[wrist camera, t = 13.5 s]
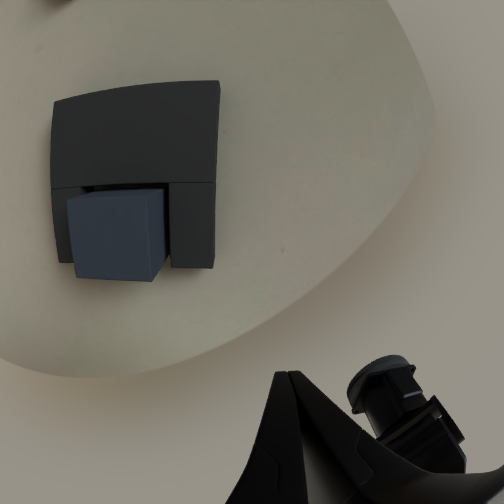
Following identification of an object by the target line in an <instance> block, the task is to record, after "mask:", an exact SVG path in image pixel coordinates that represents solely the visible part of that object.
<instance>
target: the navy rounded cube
mask: <svg viewBox="0 0 504 504" xmlns="http://www.w3.org/2000/svg"><path fill="white" fill-rule="evenodd" d="M67 213H68V224H69V233H70V241H71V249H72V255H73V262H74V268H75V273H76V277H77V278H89V279H106V280H124V281H145V282H152V281H153V279H154V278H155V276H156V274H157V273H158V271H159V270H160V268H161V266H162V265H163V263H164V262H165V260H166V259H167V257H168V256H169V254H170V243H169V213H168V187H143V188H119V189H102V190H99V191H95V192H91V193H88V194H84V195H81V196H77V197H74V198H70V199H68V200H67Z"/></svg>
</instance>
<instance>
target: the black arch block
mask: <svg viewBox="0 0 504 504" xmlns="http://www.w3.org/2000/svg"><path fill="white" fill-rule="evenodd" d="M219 103H220V84H219V81H218V80H208V81H178V82H163V83H152V84H143V85H135V86H127V87H120V88H114V89H108V90H103V91H97V92H92V93H88V94H83V95H79V96H74V97H70V98H66V99H62V100H59V101H55V102H54V107H53V118H52V131H51V156H50V173H51V189H52V190H51V198H52V212H53V223H54V232H55V239H56V247H57V253H58V259H59V262H60V263H74V262H73V255H72V249H71V241H70V233H69V224H68V213H67V200H68V199H70V198H74V197H77V196H81V195H84V194H88V193H91V192H93V186H100V185H117V184H141V183H169V235H170V258H171V267H175V268H209V269H212V268H213V264H214V259H215V196H216V164H217V140H218V121H219Z"/></svg>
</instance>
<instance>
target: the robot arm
mask: <svg viewBox="0 0 504 504" xmlns="http://www.w3.org/2000/svg"><path fill="white" fill-rule="evenodd" d="M415 370H416V367H415V366H414V365H408V366H403V367H399V368H394V369H388V370H383V371H377V372H372V373H369V374H367V375H366V377H365V380H364V382H363V385H362V387H361V390H360V392H359V394H358V397H357V399H356V401H355V404H354V406H353V408H352V413H353V414H360V413H365V414H366V416H367V418H368V420H369V422H370V424H371V426H372V428H373V431H374V433H375V435H376V437H377V438H376V439H375V438H373V437H372V436H371V435H370V434H368V433H367V432H366V431H365V430H362V428H361V427H360V426H359V425H358V424H357V423H356V422H355V421H353V420H352V419H351V418H350V417H349V416H348V415H347V414H346V413H345V412H343V411H342V410H341V409H340V408H339V407H338V406H337V405H336V404H334V403H333V402H332V401H331V400H330V399H329V398H328V397H327V396H326V395H325V394H324V393H323V392H322V391H320V390H319V389H318V388H317V387H316V386H315V385H314V384H313V383H312V382H311V381H310V380H309V379H308V378H307V377H306V376H305V375H304V374H302V373H301V372H300V371H288V372H286V371H278V372H275V374H274V377H273V381H272V384H271V388H270V392H269V395H268V399H267V403H266V406H265V409H264V413H263V416H262V420H261V423H260V426H259V429H258V433H257V436H256V439H255V443H254V445H253V448H252V451H251V454H250V457H249V459H248V462H247V465H246V467H245V469H244V471H243V473H242V475H241V477H240V479H239V481H238V482H237V484H236V486H235V488H234V489H233V491H232V493H231V494H230V496H229V498H228V500H227V501H226V503H225V504H504V465H503V466H501V467H500V468H499V469H497V470H494V471H491V472H486V473H471V474H465V471H466V456H465V454H464V453H463V451H462V449H461V448H460V446H459V444H460V443H461V442H462V441H463V440H465V438H464V436H463V435H462V433H461V431H460V430H459V428H458V427H457V425H456V424H455V422H454V421H453V419H452V418H451V417H450V415H449V414H448V413H447V411H446V410H445V409H444V407H443V406H442V405H441V403H440V402H439V400H438V399H437V398H436V396H435V395H433V396H432V397H431V398H430V400H429V401H427V400H426V398H425V397H424V395H423V394H422V392H423V390H422V389H421V388H420V386H419V385H418V383H417V382H416V381H415V379H414V378H413V374H414V372H415ZM441 415H442V416H441ZM440 416H441V417H440ZM438 417H440V418H438Z"/></svg>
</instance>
